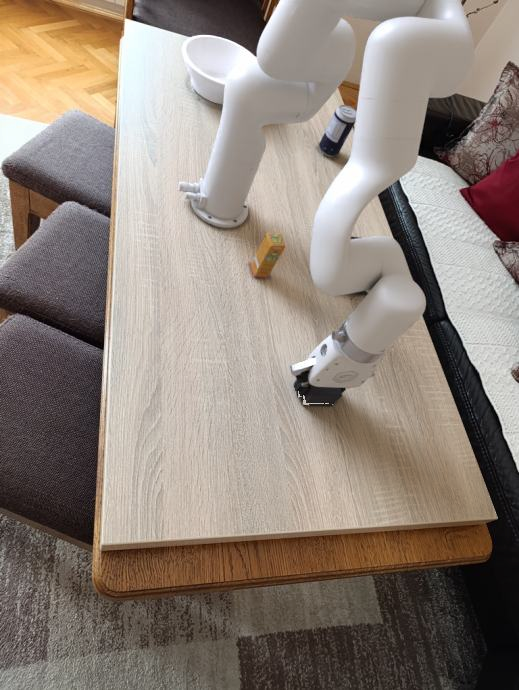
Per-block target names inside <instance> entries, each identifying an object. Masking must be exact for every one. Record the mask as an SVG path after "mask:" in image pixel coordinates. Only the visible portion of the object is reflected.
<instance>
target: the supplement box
mask: <svg viewBox="0 0 519 690" xmlns="http://www.w3.org/2000/svg"><path fill="white" fill-rule="evenodd" d="M285 248H286V243H285V240H284V237H283V233H270V232H269V233H268V232H267V233H266V234H265V236H264V238H263V240H262V241H261V244H260V246H259V248H258V249H257V251H256V253H255V255H254V257H253V259H252V260H251V261H252V262H251V263H250V267H251V271H252V274H253V278H268V277H269V276H270V274H271V272H272V271H273V269H274V268H275V266H276V265H277V262H278V260H279V259H280V257H281V256H282V254H283V252H284V250H285Z"/></svg>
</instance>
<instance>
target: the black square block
mask: <svg viewBox="0 0 519 690" xmlns="http://www.w3.org/2000/svg"><path fill="white" fill-rule="evenodd" d="M309 373H310V372H309ZM309 373H308V377H309ZM304 396H305V400H306V403H324V404H309V405H310V406H309V407H321V408H322V407H323V408H324V407H325V408H326V407H327V408H329V407H330V408H331V407H333V406H334V405H335V404H336V403H337V402H338V401H339V400H340V399H341V398H342V397H343V393H342V392H341V388H337V387H317V386H313V385H309V389H308V391H307V392H306V393H305V394H304ZM303 400H304V399H303V396H302V397H301V403H302V402H303ZM325 403H329V404H325ZM332 404H334V405H332Z"/></svg>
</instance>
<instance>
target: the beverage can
mask: <svg viewBox="0 0 519 690" xmlns="http://www.w3.org/2000/svg"><path fill="white" fill-rule="evenodd" d="M356 112H357V110H355V108H353V107H351V106H350V105H348V104H341V105H339V106H338V107H337V108H335V111H334V113H333V115H332V117H331V119H330V121H329V123H328V124H327V127H326V129H325V131H324V133H323V135H322V137H321V140H320V141H319V144H318V146H319V149H320V152H321V153H322V154H323V155H324V156H327V157H328V158H329V157H331V158H332V157H335V156H338V155H339V153H340V152H341V150H342V148H343V146H344V144H345V143H346V140H347V138H348V137H349V135H350V133H351V131H352V129H353V127H355V120H356Z"/></svg>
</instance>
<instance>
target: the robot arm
mask: <svg viewBox="0 0 519 690" xmlns="http://www.w3.org/2000/svg"><path fill="white" fill-rule="evenodd" d="M461 1H462V0H279V1H278V4H277V5H276V7H275V9H274V10H273V12H272V14H271V16H270V18H269V20H268V22H267V23H266V25H265V27H264V29H263V30H262V33H261V35H260V37H259V40H258V43H257V46H256V58H257V62H248V63H242V64H240V65H237V66H236V67H234V68H233V69H232V70H231V71H230V72H229V74H228V76H227V78H226V82H225V89H224V101H223V104H222V109H221V110H222V111H221V115H220V121H219V125H218V128H217V132H216V136H215V139H214V143H213V146H212V150H211V154H210V157H209V161H208V164H207V168H206V171H205V175H204V178H203V177H200V178H199V181H198V182H193V183H189V182H186V181H181V180H180V181H179V182H178V184H177V185H178V186H177V190H178V191H179V192H185V193H184V199H185V200H190V204H191V208H192V210H193V211H194V213H195V214H196V215H197V217H199V219H201V220H203V221H204V222H205V223H207V224H209V225H211V226H214V227H218V228H223V229H232V228H236V227H239V226H240V225H242V224H244V223H245V221H246V220H247V217H248V215H249V205H248V202H247V198H248V195H249V192H250V190H251V187H252V185H253V182H254V179H255V177H256V174H257V172H258V170H259V167H260V164H261V162H262V159H263V158H264V157H263V156H264V154H265V151H266V147H267V140H266V135H265V132H264V131H263V127H265V126H266V125H277V124H278V125H281V124H287V125H288V124H289V125H290V124H304V123H306V122H307V121H310V120H311V119H312V118H313V117H314V116H316V115H317V113H318V112H319V111H320V110H321V109H322V107H323V106H324V105H326V103H327V102H328V100H329V99H330V98H331V97H332V95H333V94H334V93H335V92H336V91H337V90H338V88H339V87H340V86H341V85H342V84H343V83H344V81H345V80H346V78H347V77H348V75H349V73H350V71H351V69H352V66H353V64H354V61H355V56H356V51H357V38H356V33H355V31H354V29H353V27H352V25H351V24H350V23H349V22H348V21H347V20H346V19H344V18H342V17H343V15H344V16H347V17H349V18H354V19H360V20H367V21H372V22H380V23H379V24H378V25H377V26H375V28H374V29H373V30H372V31H371V33H370V35H369V36H368V38H367V41H366V44H365V48H364V52H363V59H362V67H361V74H360V81H359V88H358V99H357V106H356V120H355V124H354V128H353V135H352V143H351V144H352V145H351V150H350V151H351V152H350V155H349V159H348V160H347V163H346V164H345V165H344V166H343V167H342V169H341V170H340V172H338V173H337V175H336V176H335V178H334V179H333V180H332V182H331V184H330V185H329V187H328V189H327V191H326V192H325V194H324V196H323V197H322V200H321V201H320V203H319V205H318V207H317V209H316V212H315V215H314V218H313V222H312V228H311V239H310V251H309V270H310V276H311V279H312V282H313V284H314V286H315V287H316V289H317V290H318V291H319V292H321V293H322V294H324V295H327V296H332V297H339V296H344V295H350V294H351V293H356V292H361V291H367V292H368V294H367V295H364V298H363V299H362V300H361V301H360V302H359V304H358V305H357V306H356V307H355V308H354V310H353V311H352V313H350V314H349V316H348V317H347V319H346V320H345V321H344V322H343V323H342V325H341V326H340V327H339V328H338V330H336V331H335V330H333V331H332V332H331V334H329V335H328V336H327V337H326V338H325V339H323V340H322V341H321V342H320V343H319V344H318V345H317V346H316V347H315V348H314V349H313V351H312V352H311V353H310V354H309V355H308V357H307V358H306V360H303V361H301V362H298V363H297V362H296V363H294V364H291V365H290V366H289V368H290V373H291V375H292V376H293V377H295V378H296V380H295V382H294V383H293V389H294V388H295V390H294V392H295V393H296V398H298V391H299V394H300V396H303V395H304V394H305V393H306V392H307V391H308V389H309V385H313V386H317V387H337V388H341V392H342V394H343V393H344V392H345V391H346V390H347V389H354V388H359V387H361V386H362V385H364V383H366V382H367V381H368V380H369V378H373V377H375V372H376V370H378V368H379V366H380V364H381V363H382V361H383V359H384V357H385V353H386V352H387V351H388V350H389V349H390V348H391V347H392V346H393V345H394V344H395V343H396V342H397V341H398V340H399V339H400V338H401V337H402V336H403V335H404V334H405V333H406V332H407V331H408V330H410V329H411V327H413V326H414V324H415V323H416V322H417V321H418V320H420V318H421V317H422V316H423V315H424V313H425V311H426V306H427V300H426V296H425V293H424V291H423V289H422V288H421V287H420V285H419V284H418V283H417V282H415V280H414V279H413V276H412V274H411V271H410V269H409V265H408V262H407V260H406V257H405V254H404V251H403V249H402V247H401V245H400V243H399V242H398V241H397V240H396V239H395V238H394V237H392V236H390V235H384V234H382V235H381V234H380V235H373V236H366V237H359V238H358V239H351V236H352V235H353V231H354V228H355V225H356V223H357V221H358V219H359V217H360V216H361V214H362V213H363V211H364V210H365V209H366V207H367V206H368V205H369V204H370V203H371V202H372V201H373V200H374V199H375V198H376V197H377V196H378V195H380V194H381V193H382V192H384V191H385V190H386V189H388V188H390V186H392V185H393V184H395V183H396V182H398V181H399V180H401V179H402V177H404V176H405V175H407V174H408V173H410V171H412V169H413V168H414V167H415V166H416V164H417V161H418V157H419V150H420V145H421V141H422V137H423V136H422V134H423V130H424V124H425V120H426V119H425V118H426V114H427V110H428V109H427V108H428V103H429V99H431V98H432V99H444V98H449V97H451V96H453V95H455V94H457V93H458V92H459V91H461V90H462V89H463V88H464V86H465V85H466V83H467V82H468V80H469V78H470V76H471V74H472V70H473V67H474V63H475V42H474V41H475V40H474V36H473V32H472V29H471V25H470V23H469V22H470V21H469V18H468V16H467V14H466V11H465V9H464V6H463V4H462V2H461ZM178 191H177V192H178ZM351 295H352V294H351ZM309 372H310V373H309ZM308 373H309V377H308ZM300 398H301V397H300ZM300 398H299V399H300Z"/></svg>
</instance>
